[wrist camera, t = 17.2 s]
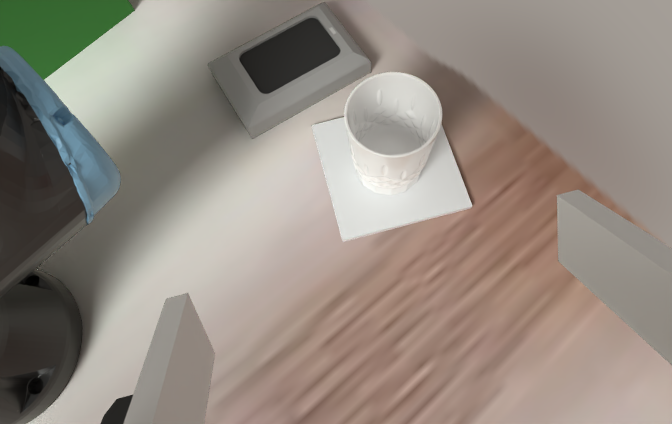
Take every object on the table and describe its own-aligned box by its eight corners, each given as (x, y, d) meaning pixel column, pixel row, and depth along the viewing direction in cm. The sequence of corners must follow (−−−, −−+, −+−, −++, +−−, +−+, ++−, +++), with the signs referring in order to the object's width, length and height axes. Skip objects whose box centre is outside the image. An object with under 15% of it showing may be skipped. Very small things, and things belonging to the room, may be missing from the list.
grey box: (203, 57, 50) (324, -8, 51) (214, 77, 53) (327, 16, 55) (244, 123, 47) (371, 52, 48) (253, 140, 50) (371, 74, 52)
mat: (342, 242, 45) (342, 240, 45) (312, 128, 50) (311, 125, 49) (471, 208, 46) (472, 205, 45) (429, 97, 50) (430, 94, 49)
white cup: (335, 151, 48) (327, 97, 39) (402, 117, 49) (410, 56, 39) (373, 215, 46) (373, 174, 36) (443, 178, 46) (461, 128, 37)
